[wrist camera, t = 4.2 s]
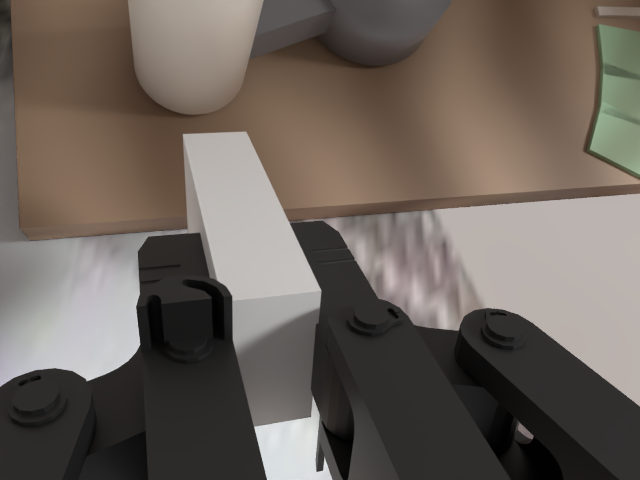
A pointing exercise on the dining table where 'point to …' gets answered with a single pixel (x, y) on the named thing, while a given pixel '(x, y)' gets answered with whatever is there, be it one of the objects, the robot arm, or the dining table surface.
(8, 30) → the dining table surface
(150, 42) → the knobbed stick and post
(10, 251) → the dining table surface
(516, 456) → the robot arm
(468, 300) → the dining table surface
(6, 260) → the dining table surface
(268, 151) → the brown wooden board
